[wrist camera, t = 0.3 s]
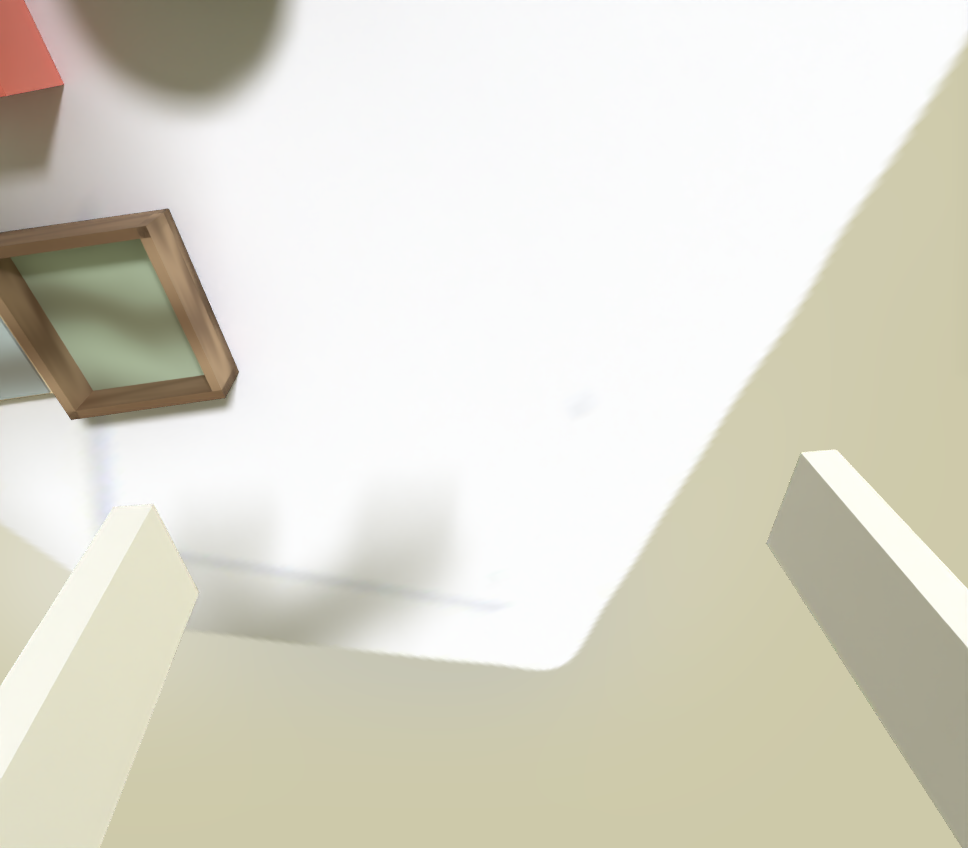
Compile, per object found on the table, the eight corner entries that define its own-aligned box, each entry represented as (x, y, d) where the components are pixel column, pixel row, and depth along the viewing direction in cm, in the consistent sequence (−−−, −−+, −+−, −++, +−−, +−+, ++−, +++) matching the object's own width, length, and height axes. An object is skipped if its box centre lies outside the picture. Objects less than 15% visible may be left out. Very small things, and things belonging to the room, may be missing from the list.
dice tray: (-4, 233, 33) (-42, 252, 30) (168, 208, 33) (146, 225, 30) (95, 392, 39) (71, 419, 37) (238, 371, 39) (225, 397, 37)
